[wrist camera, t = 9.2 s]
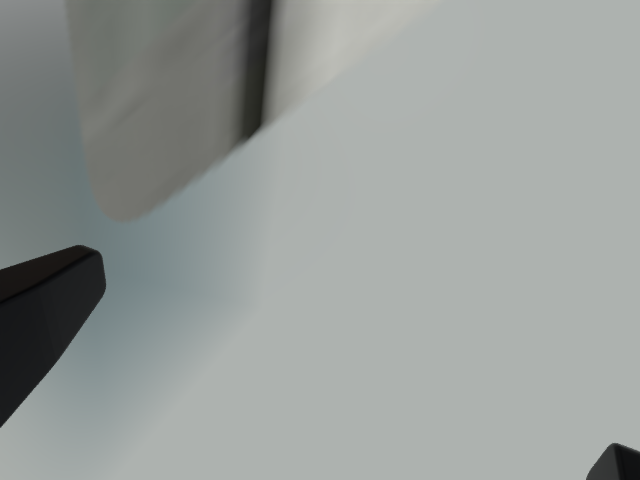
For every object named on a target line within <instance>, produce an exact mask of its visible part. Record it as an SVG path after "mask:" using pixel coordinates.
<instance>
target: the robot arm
mask: <svg viewBox="0 0 640 480" xmlns="http://www.w3.org/2000/svg"><path fill="white" fill-rule="evenodd" d="M105 289H106V279H105V273H104V265H103V258H102V255H101V254H100V252H98V251H97V250H94V249H92V248H89V247H86V246H83V245H76V246H72V247H69V248H66V249H63V250H60V251H57V252H54V253H51V254H47V255H44V256H41V257H38V258H35V259H32V260H29V261H26V262H23V263H19V264H16V265H14V266H10V267H7V268H4V269H1V270H0V428H1V427H2V426H3V424H4V423H5V422H6V421H7V420H8V419H9V417H10V416H11V415H12V414H13V413H14V412H15V410H16V409H17V408H18V407H19V406H20V404H21V403H22V402H23V401H24V400H25V399H26V398H27V396H28V395H29V394H30V393H31V392H32V391H33V389H34V388H35V387H36V386H37V385H38V384H39V382H40V381H41V380H42V379H43V378H44V377H45V376H46V374H47V373H48V372H49V371H50V370H51V368H52V367H53V366H54V365H55V363H56V362H57V361H58V360H59V358H60V357H61V356H62V354H63V353H64V351H65V350H66V349H67V347H68V346H69V344H70V343H71V341H72V340H73V339H74V337H75V336H76V334H77V333H78V331H79V330H80V328H81V327H82V326H83V324H84V323H85V321H86V320H87V318H88V317H89V316H90V314H91V312H92V311H93V310H94V308H95V307H96V305H97V304H98V303H99V301H100V299H101V298H102V297H103V295H104V292H105ZM586 480H640V452H639V451H637V450H634V449H632V448H629V447H626V446H624V445H621V444H618V443H612V444H611V445H609V446H608V447H607V449H606V450H605V451H604V452H603V454H602V455H601V456H600V458H599V459H598V461H597V462H596V463H595V464H594V466H593V467H592V468H591V470H590V471H589V473H588V475H587V478H586Z"/></svg>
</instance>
